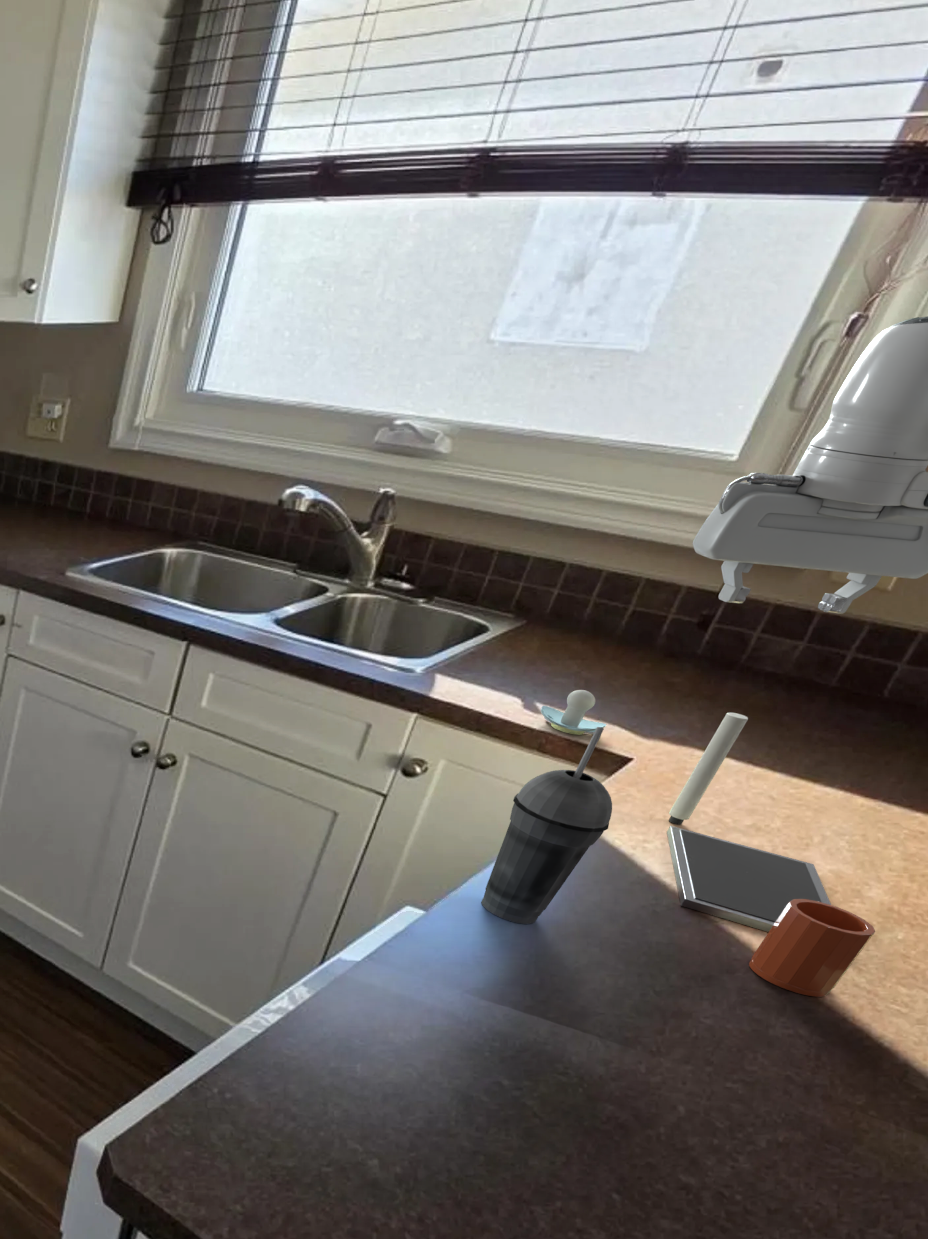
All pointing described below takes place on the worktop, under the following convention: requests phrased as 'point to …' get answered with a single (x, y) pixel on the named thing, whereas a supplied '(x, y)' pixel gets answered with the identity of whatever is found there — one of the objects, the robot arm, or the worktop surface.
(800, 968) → the pen pot
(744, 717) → the stylus
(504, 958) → the worktop surface
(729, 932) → the worktop surface
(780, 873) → the tablet
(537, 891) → the beverage cup
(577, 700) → the pacifier
